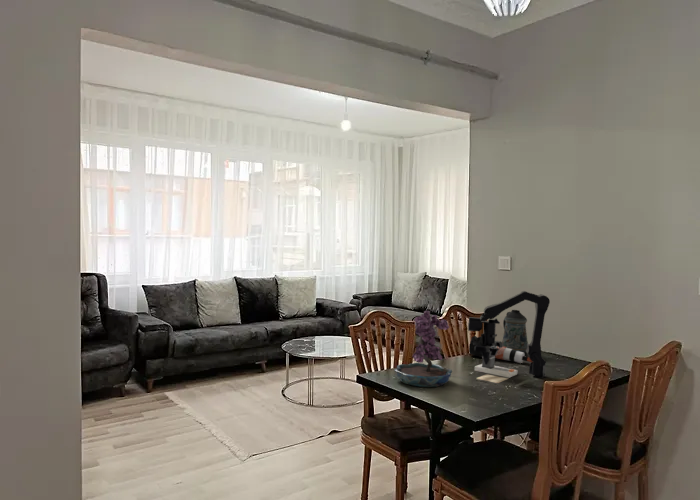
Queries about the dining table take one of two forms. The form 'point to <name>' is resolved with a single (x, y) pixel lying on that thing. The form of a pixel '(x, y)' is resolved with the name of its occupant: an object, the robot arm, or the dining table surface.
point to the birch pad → (491, 378)
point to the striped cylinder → (503, 354)
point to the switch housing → (497, 371)
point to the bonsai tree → (425, 356)
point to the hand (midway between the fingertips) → (488, 363)
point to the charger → (489, 362)
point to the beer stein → (515, 331)
